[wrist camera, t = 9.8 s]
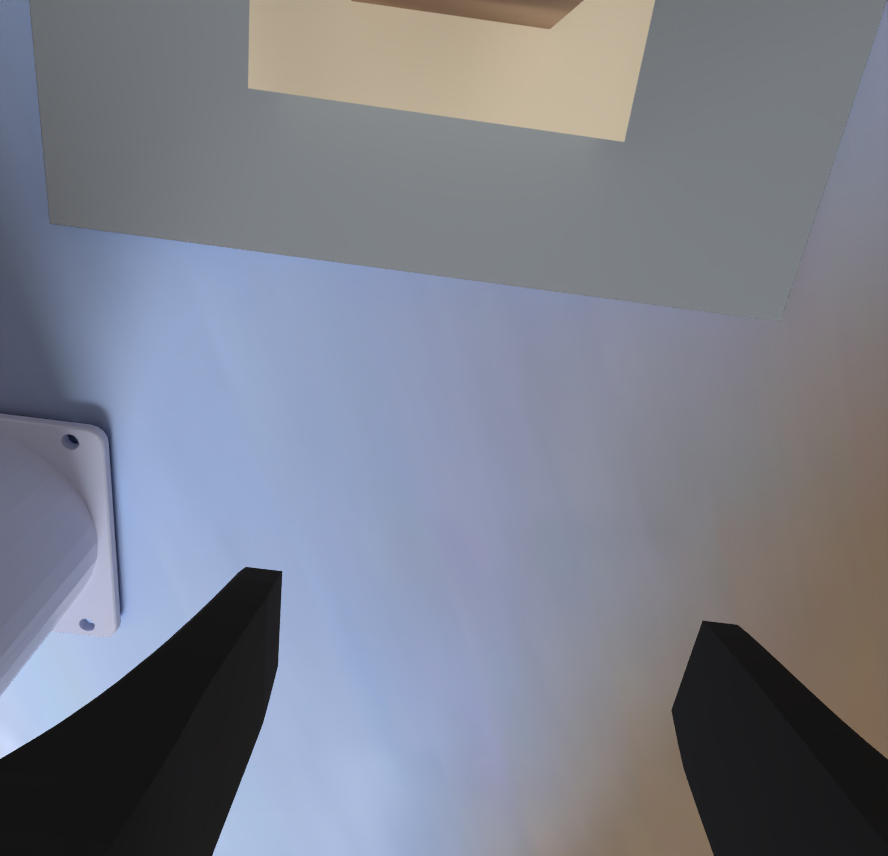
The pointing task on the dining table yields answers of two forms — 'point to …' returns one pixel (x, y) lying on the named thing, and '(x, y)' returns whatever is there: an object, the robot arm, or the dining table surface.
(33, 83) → the dining table surface
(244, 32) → the grey board with block
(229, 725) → the robot arm
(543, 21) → the walnut block
